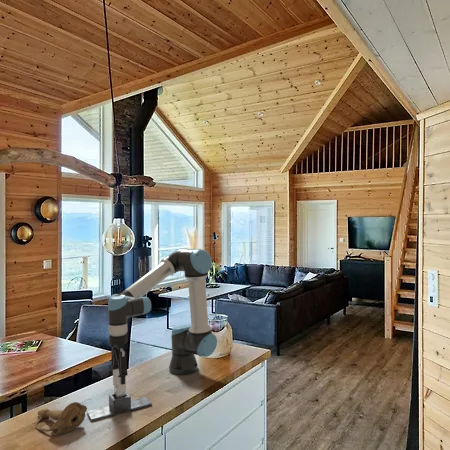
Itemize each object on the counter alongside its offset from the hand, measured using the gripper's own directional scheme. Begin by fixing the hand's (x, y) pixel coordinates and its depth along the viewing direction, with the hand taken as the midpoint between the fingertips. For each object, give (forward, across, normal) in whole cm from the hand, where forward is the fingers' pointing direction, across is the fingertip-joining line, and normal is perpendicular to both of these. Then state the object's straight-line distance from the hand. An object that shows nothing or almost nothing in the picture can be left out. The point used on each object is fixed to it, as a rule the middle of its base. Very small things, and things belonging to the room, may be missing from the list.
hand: (119, 387), depth 170 cm
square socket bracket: (+9, 0, 0) cm, 9 cm away
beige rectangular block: (+9, 0, 0) cm, 9 cm away
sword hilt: (+10, -3, -25) cm, 27 cm away
